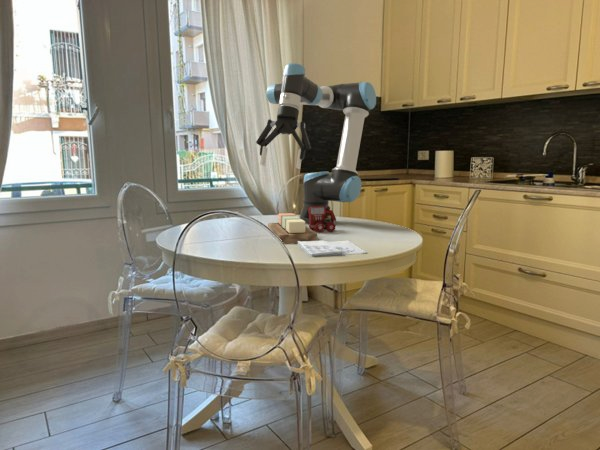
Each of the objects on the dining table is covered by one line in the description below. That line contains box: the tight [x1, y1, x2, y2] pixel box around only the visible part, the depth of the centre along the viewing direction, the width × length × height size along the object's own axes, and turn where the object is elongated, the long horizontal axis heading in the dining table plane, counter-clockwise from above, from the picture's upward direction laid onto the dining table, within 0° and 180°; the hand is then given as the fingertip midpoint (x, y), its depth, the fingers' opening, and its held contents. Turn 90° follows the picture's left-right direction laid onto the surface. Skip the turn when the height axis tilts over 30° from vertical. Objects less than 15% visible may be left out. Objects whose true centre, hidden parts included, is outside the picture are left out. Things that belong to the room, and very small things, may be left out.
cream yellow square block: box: [286, 219, 306, 233], centre depth 161 cm, size 6×6×4 cm
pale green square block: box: [282, 215, 300, 229], centre depth 168 cm, size 6×6×4 cm
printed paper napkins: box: [297, 239, 368, 257], centre depth 147 cm, size 19×20×2 cm
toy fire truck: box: [308, 205, 337, 234], centre depth 179 cm, size 7×12×10 cm, turn 113°
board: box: [267, 221, 318, 244], centre depth 169 cm, size 14×26×3 cm, turn 13°
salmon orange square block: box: [277, 212, 297, 226], centre depth 176 cm, size 6×6×4 cm
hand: (280, 166), depth 155 cm, fingers open, 13 cm apart
